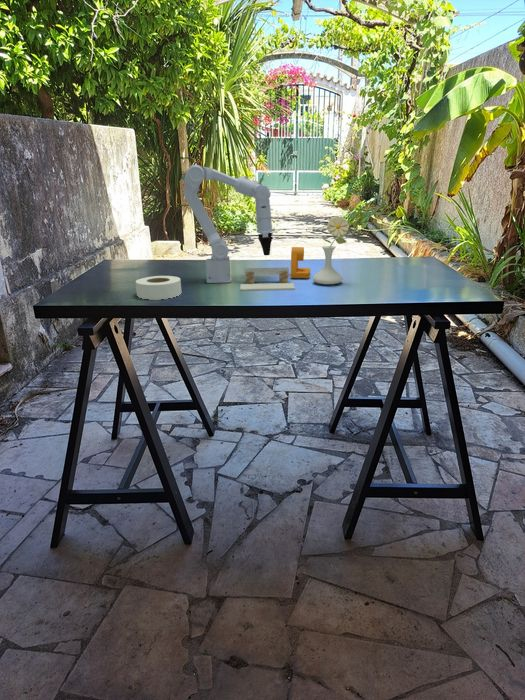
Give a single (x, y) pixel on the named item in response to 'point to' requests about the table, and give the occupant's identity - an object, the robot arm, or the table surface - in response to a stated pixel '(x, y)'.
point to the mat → (267, 286)
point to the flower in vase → (337, 229)
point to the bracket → (296, 256)
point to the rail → (266, 271)
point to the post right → (283, 277)
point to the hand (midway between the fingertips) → (266, 253)
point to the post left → (249, 278)
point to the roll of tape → (158, 287)
